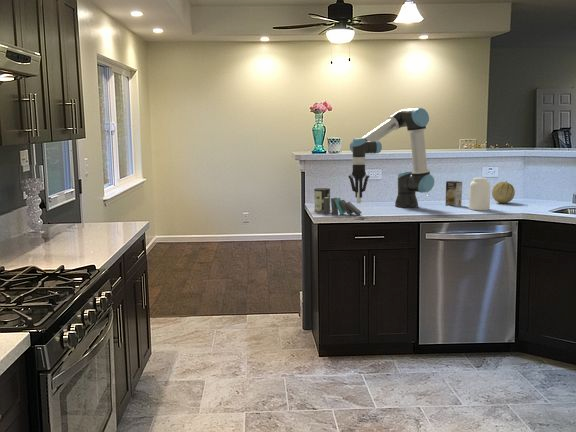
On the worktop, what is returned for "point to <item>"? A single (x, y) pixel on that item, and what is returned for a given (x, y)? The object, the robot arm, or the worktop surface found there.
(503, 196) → the cantaloupe
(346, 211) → the domino
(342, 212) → the teal domino
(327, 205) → the domino
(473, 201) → the cream jar
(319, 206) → the coffee can
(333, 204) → the domino
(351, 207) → the domino
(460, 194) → the coffee box
